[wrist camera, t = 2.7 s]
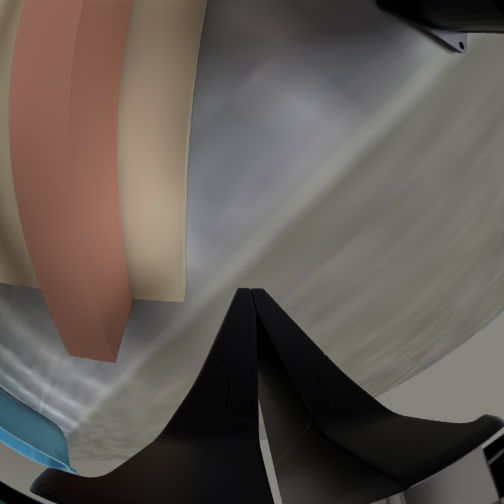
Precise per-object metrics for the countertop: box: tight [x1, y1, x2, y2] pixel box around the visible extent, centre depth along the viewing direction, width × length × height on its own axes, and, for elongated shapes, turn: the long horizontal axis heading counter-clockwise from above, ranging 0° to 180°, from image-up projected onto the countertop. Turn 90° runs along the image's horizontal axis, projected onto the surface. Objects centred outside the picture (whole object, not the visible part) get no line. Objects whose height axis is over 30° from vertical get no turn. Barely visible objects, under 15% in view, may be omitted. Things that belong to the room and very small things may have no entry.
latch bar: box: [9, 0, 133, 363], centre depth 7 cm, size 17×3×4 cm, turn 173°
